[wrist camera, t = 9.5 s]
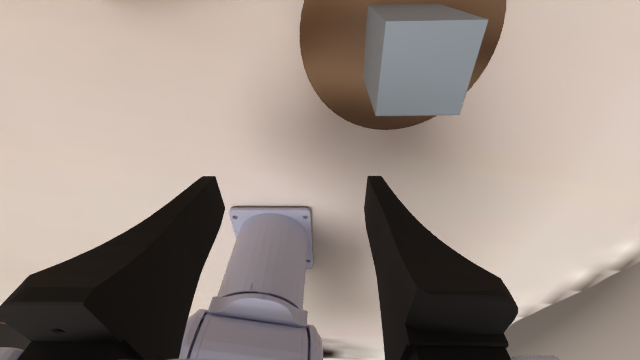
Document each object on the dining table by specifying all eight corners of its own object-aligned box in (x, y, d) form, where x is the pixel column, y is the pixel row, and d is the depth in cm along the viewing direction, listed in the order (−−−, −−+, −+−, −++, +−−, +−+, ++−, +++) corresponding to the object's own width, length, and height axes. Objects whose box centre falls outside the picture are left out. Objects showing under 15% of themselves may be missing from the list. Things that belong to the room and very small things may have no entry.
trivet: (460, 120, 21) (468, 129, 20) (305, 121, 22) (304, 130, 21) (528, -97, 14) (547, -103, 13) (294, -91, 14) (292, -96, 13)
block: (424, 76, 18) (459, 115, 13) (362, 77, 18) (375, 116, 13) (439, 3, 16) (488, 19, 11) (367, 5, 16) (385, 21, 11)
